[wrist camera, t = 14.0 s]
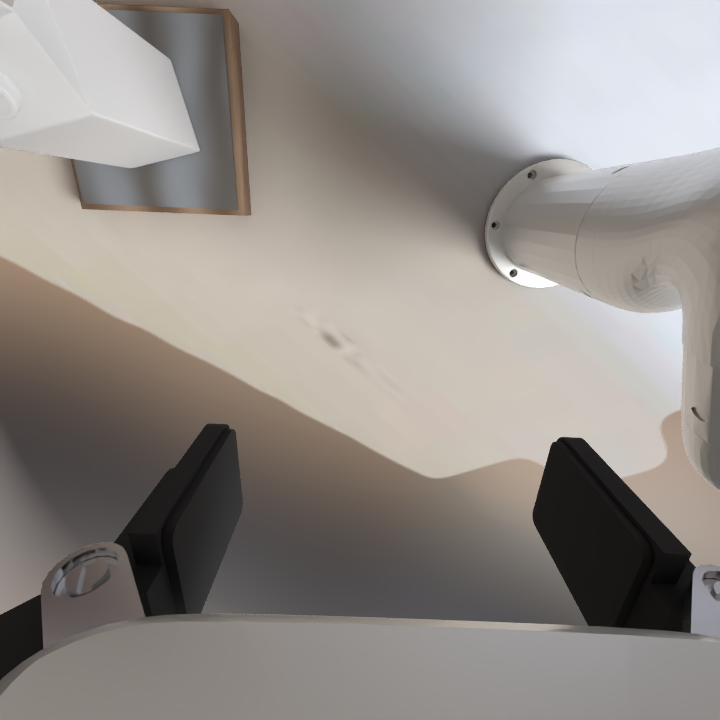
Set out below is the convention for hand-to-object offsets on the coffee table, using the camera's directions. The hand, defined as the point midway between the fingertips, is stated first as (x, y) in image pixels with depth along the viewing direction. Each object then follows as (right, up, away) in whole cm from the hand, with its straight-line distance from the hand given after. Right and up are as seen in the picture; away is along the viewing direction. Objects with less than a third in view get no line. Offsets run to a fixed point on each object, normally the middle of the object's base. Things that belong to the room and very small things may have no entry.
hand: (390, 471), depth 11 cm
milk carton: (-20, +25, +23) cm, 39 cm away
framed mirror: (-20, +26, +25) cm, 42 cm away
